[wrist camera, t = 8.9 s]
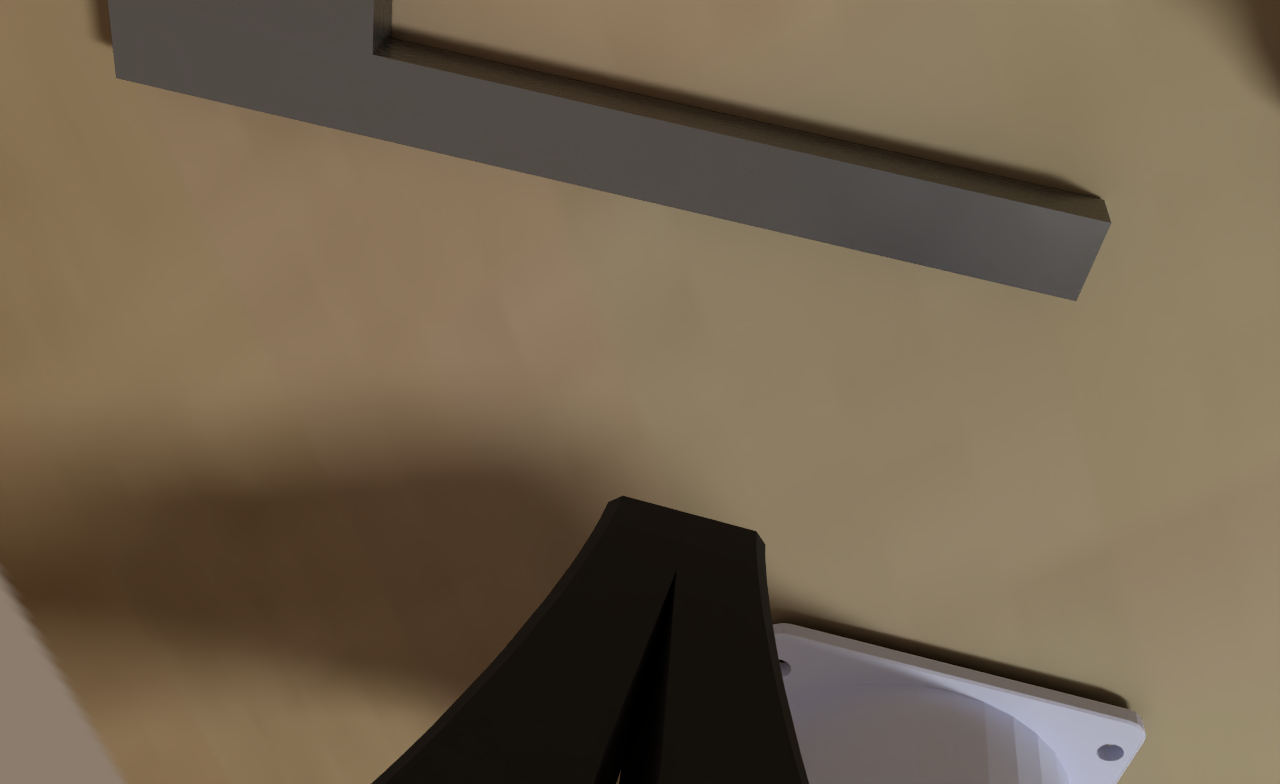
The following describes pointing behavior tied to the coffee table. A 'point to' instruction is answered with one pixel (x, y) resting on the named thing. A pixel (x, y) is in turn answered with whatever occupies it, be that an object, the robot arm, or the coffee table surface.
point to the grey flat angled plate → (606, 137)
